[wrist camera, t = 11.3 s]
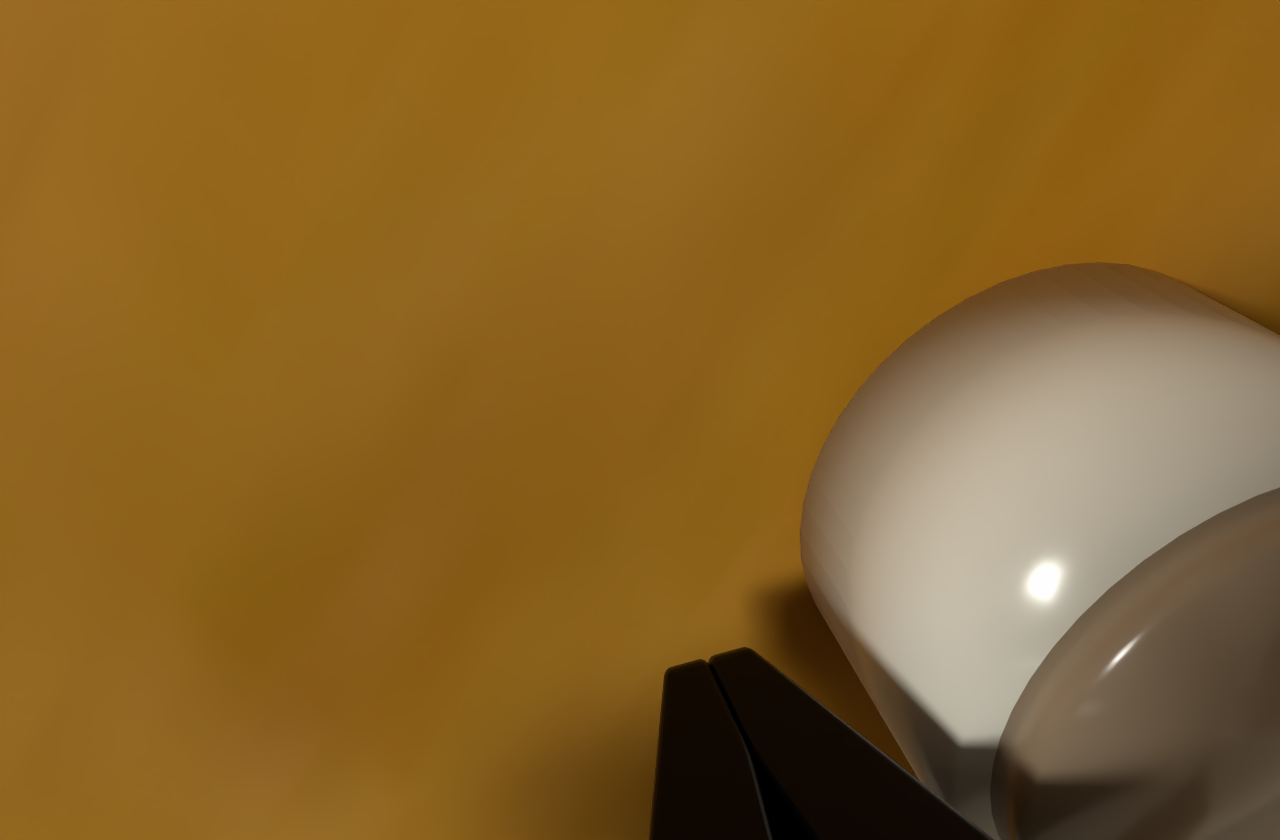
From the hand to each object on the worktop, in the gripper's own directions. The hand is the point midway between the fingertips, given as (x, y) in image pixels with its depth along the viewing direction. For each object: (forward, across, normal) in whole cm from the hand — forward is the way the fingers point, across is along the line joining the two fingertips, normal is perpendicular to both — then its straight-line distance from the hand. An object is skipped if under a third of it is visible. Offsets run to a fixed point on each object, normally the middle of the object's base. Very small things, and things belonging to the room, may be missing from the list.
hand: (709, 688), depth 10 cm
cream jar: (+2, -4, 0) cm, 5 cm away
